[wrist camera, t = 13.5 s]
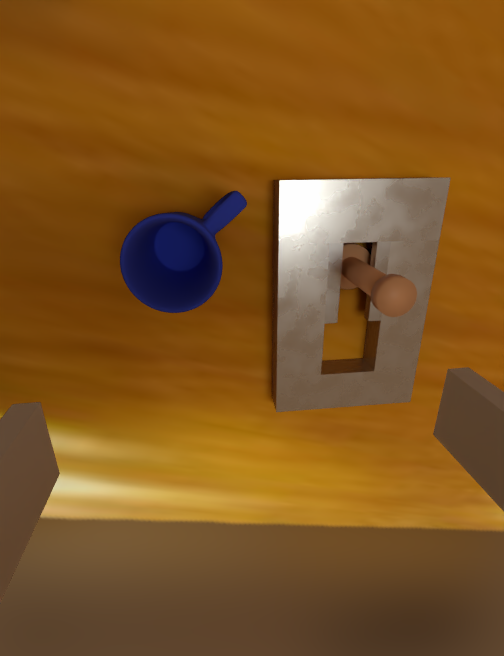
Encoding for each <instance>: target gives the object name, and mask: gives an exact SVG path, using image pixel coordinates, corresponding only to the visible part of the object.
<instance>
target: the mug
mask: <svg viewBox="0 0 504 656" xmlns="http://www.w3.org/2000/svg"><path fill="white" fill-rule="evenodd" d="M246 205H247V202H246V200H245V198H244V197H243V196H242V195H241V194H240V193H239V192H238V191H232V192H230V193H228V194H226V195H225V196H224V197H223V198H221V199H220V200H219V201H218V202H217V203H216V204H215V205H214V206H213V207H212V208H211V209H210V210H209V211H208V212H207V213H206V214H205V215H204V217H203V219H199V218H197V217H195V216H192V215H190V214H187V213H182V212H171V213H162V214H157V215H153V216H150V217H148V218H146V219H144V220H142V221H141V222H139V223H138V224H137V225H135V226H134V227H133V228H132V230H131V231H130V232H129V233H128V235H127V236H126V238H125V240H124V243H123V245H122V249H121V254H120V266H121V272H122V275H123V278H124V281H125V283H126V285H127V286H128V288H129V289H130V291H131V292H132V293H133V294H134V296H135V297H136V298H137V299H139V300H140V301H141V302H142V303H144V304H146V305H147V306H149V307H151V308H153V309H156V310H159V311H163V312H169V313H179V312H185V311H189V310H192V309H195V308H197V307H198V306H200V305H202V304H203V303H205V302H206V301H207V300H208V299H209V298H210V297H211V296H212V295H213V293H214V292H215V290H216V289H217V287H218V285H219V282H220V279H221V275H222V257H221V252H220V249H219V246H218V244H217V242H216V239H215V234H216V233H217V232H218V231H220V230H221V229H222V228H224V227H225V226H226V225H227V224H228V223H229V222H230V221H231V220H233V219H234V218H235V217H236V216H237V215H238V214H239V213H240V212H241V211H242V210H243V209H244V208H245V207H246Z"/></svg>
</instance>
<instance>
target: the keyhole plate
mask: <svg viewBox="0 0 504 656" xmlns="http://www.w3.org/2000/svg"><path fill="white" fill-rule="evenodd" d="M449 183H450V178H377V179H314V180H274V204H273V321H272V399H273V402H274V406H275V409H276V412H283V411H296V410H309V409H322V408H335V407H348V406H361V405H374V404H388V403H401V402H410V400H411V394H412V389H413V383H414V378H415V372H416V367H417V361H418V355H419V350H420V344H421V339H422V333H423V328H424V322H425V316H426V311H427V305H428V300H429V294H430V289H431V283H432V277H433V272H434V266H435V261H436V255H437V250H438V244H439V238H440V233H441V227H442V222H443V216H444V211H445V205H446V200H447V194H448V188H449ZM357 242H373V243H372V252H371V261H370V266H372V267H374V268H376V269H377V270H379V271H381V272H383V273H385V274H386V275H388V274H398V275H401V276H403V277H404V278H406V279H408V280H410V281H411V282H413V284H414V285H415V287H416V289H417V298H416V302H415V304H414V305H413V307H412V308H411V309H410V310H409V311H408V312H407V313H405V314H404V315H401V316H398V317H389V316H386V315H384V314H383V313H382V312H380V311H379V310H378V309H377V308H375V307H374V305H373V304H372V301H371V297H370V296H369V295H368V294H367V297H366V306H365V315H364V318H366V319H367V320H368V321H367V329H366V338H365V347H364V355H363V358H359V359H343V360H327V361H322V351H323V336H324V323H337V318H338V306H339V293H340V281H341V269H342V257H343V244H344V243H357Z"/></svg>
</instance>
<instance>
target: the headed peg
mask: <svg viewBox="0 0 504 656" xmlns="http://www.w3.org/2000/svg"><path fill="white" fill-rule="evenodd" d="M370 261H371V255H370V253H369V252H368V251H367V250H366V249H365V248H364V247H362V246H360V245H358V244H355V243H344V244H343V257H342V269H341V281H340V288H342V289H353V288H356V287H359V288H360V289H361V290H362V291H364V292H365V293H366V294H368V295H369V296H370V297H371V301H372V304H373V305H374V307H375V308H377V309H378V310H379V311H380V312H382V313H383V314H384V315H386V316H389V317H398V316H401V315H404V314H405V313H407V312H408V311H409V310H410V309H411V308H412V307H413V305H414V304H415V302H416V298H417V289H416V287H415V285H414V284H413V282H411V281H410V280H408V279H406V278H404V277H403V276H401V275H398V274H388V275H386V274H385V273H383V272H381V271H379V270H377V269H376V268H374V267H372V266H370Z"/></svg>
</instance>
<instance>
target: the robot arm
mask: <svg viewBox="0 0 504 656" xmlns="http://www.w3.org/2000/svg"><path fill="white" fill-rule="evenodd" d="M433 435H434V436H435V437H436V438H437V439H438V440H439V441H440V442H441V443H442V445H443V446H444V447H445V448H446V449H447V450H448V451H449V452H450V453H451V454H452V455H453V457H454V458H455V459H456V460H457V461H458V462H459V463H460V464H461V465H462V466H463V467H464V468H465V470H466V471H467V472H468V473H469V474H470V475H471V476H472V477H473V478H474V479H475V480H476V482H477V483H478V484H479V485H480V486H481V487H482V488H483V489H484V490H485V491H486V492H487V493H488V495H489V496H490V497H491V498H492V499H493V500H494V501H495V502H496V503H497V504H498V505H499V507H500V508H501V509H502V510H503V511H504V392H503V391H501V390H500V389H498V388H497V387H496V386H494V385H493V384H491V383H490V382H488V381H487V380H486V379H484V378H483V377H481V376H480V375H478V374H477V373H476V372H474V371H473V370H471V369H470V368H455V369H448V371H447V375H446V380H445V384H444V389H443V393H442V398H441V402H440V407H439V411H438V416H437V420H436V425H435V429H434V433H433ZM59 474H60V473H59V470H58V466H57V462H56V458H55V455H54V451H53V447H52V444H51V440H50V436H49V432H48V429H47V425H46V421H45V418H44V414H43V410H42V407H41V403H40V402H35V403H23V404H12V406H11V407H10V408H9V409H8V411H7V412H6V413H5V414H4V416H3V417H2V418H1V419H0V603H1V600H2V598H3V596H4V594H5V592H6V590H7V587H8V585H9V583H10V581H11V579H12V576H13V574H14V572H15V570H16V568H17V566H18V563H19V561H20V559H21V557H22V554H23V553H24V550H25V548H26V546H27V544H28V541H29V539H30V537H31V535H32V533H33V531H34V528H35V526H36V524H37V522H38V520H39V518H40V515H41V513H42V511H43V509H44V507H45V505H46V502H47V500H48V498H49V496H50V494H51V491H52V489H53V487H54V485H55V483H56V481H57V478H58V476H59Z"/></svg>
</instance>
